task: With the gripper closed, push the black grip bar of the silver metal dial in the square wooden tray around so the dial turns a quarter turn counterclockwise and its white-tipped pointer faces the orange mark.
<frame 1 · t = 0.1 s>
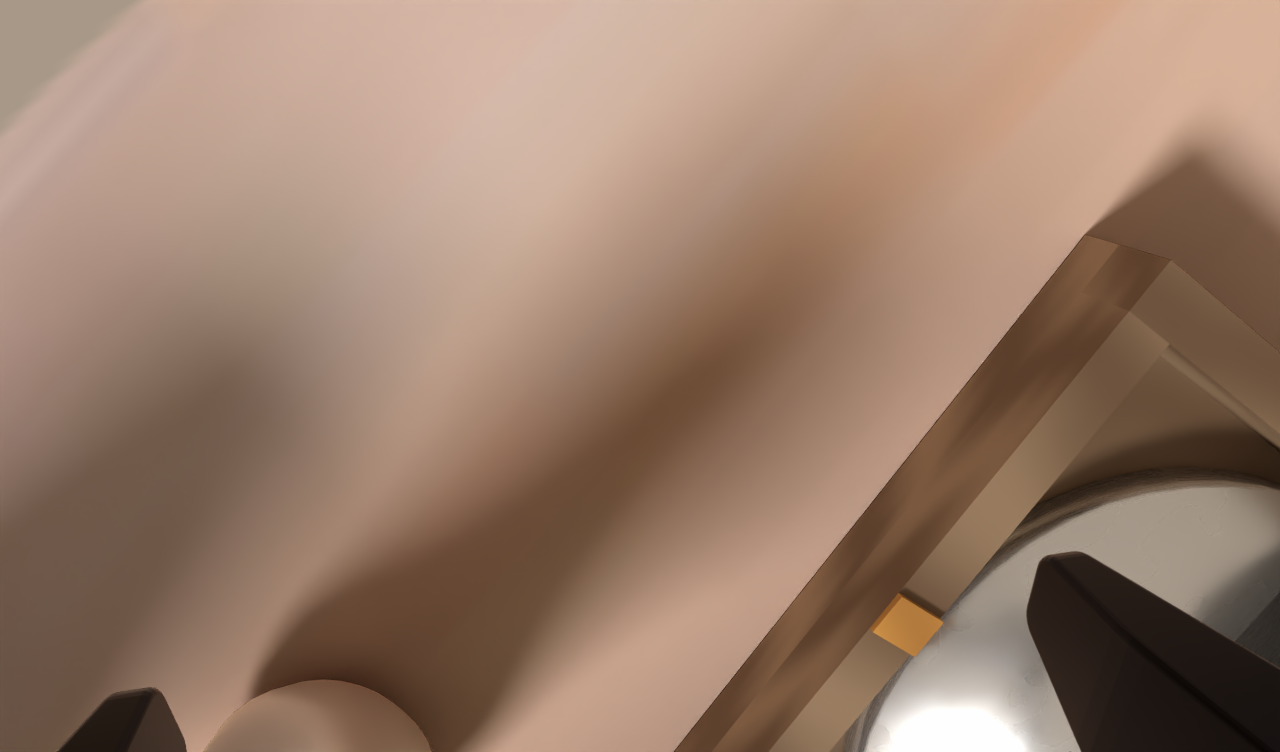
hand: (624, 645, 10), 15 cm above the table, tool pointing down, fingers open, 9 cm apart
square wooden tray: (1089, 701, 31), on the table
plastic bottle: (332, 742, 28), on the table
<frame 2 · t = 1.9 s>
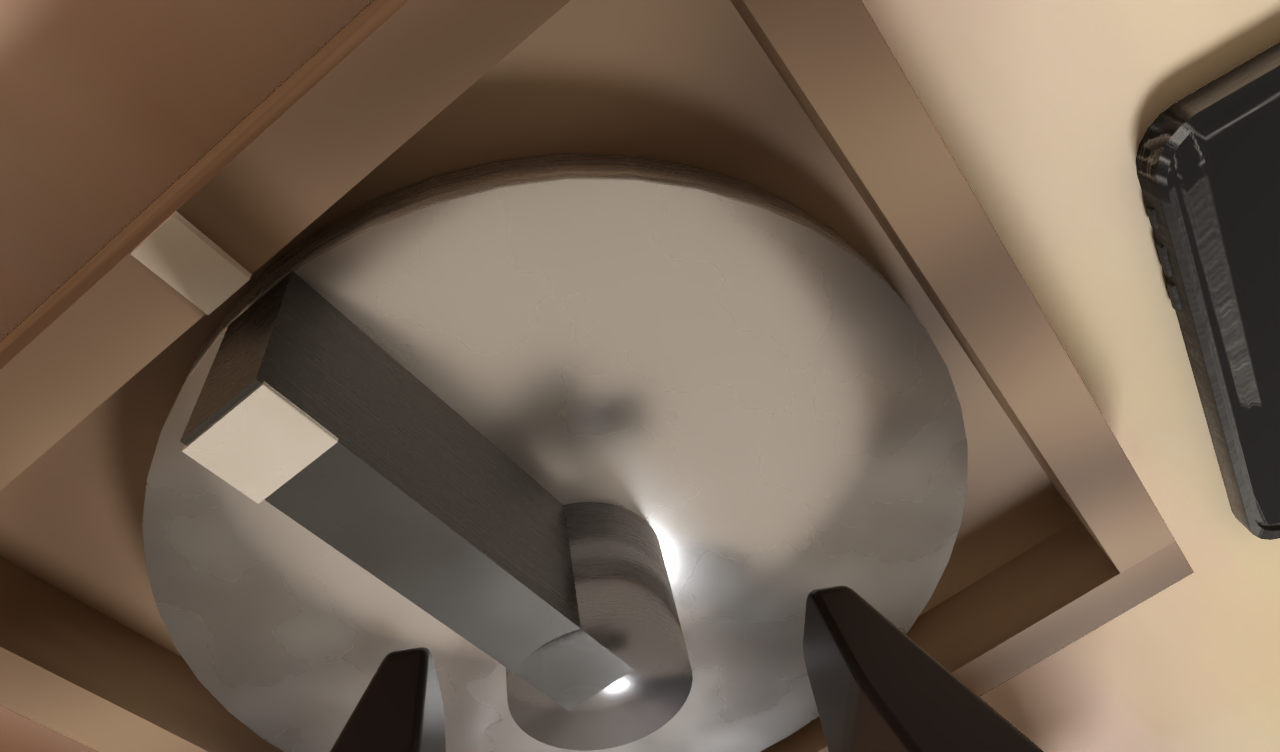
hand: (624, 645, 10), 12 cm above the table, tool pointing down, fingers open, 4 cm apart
square wooden tray: (569, 480, 24), on the table
dial: (587, 600, 20), point 4 cm above the table, hinge at 0.0°
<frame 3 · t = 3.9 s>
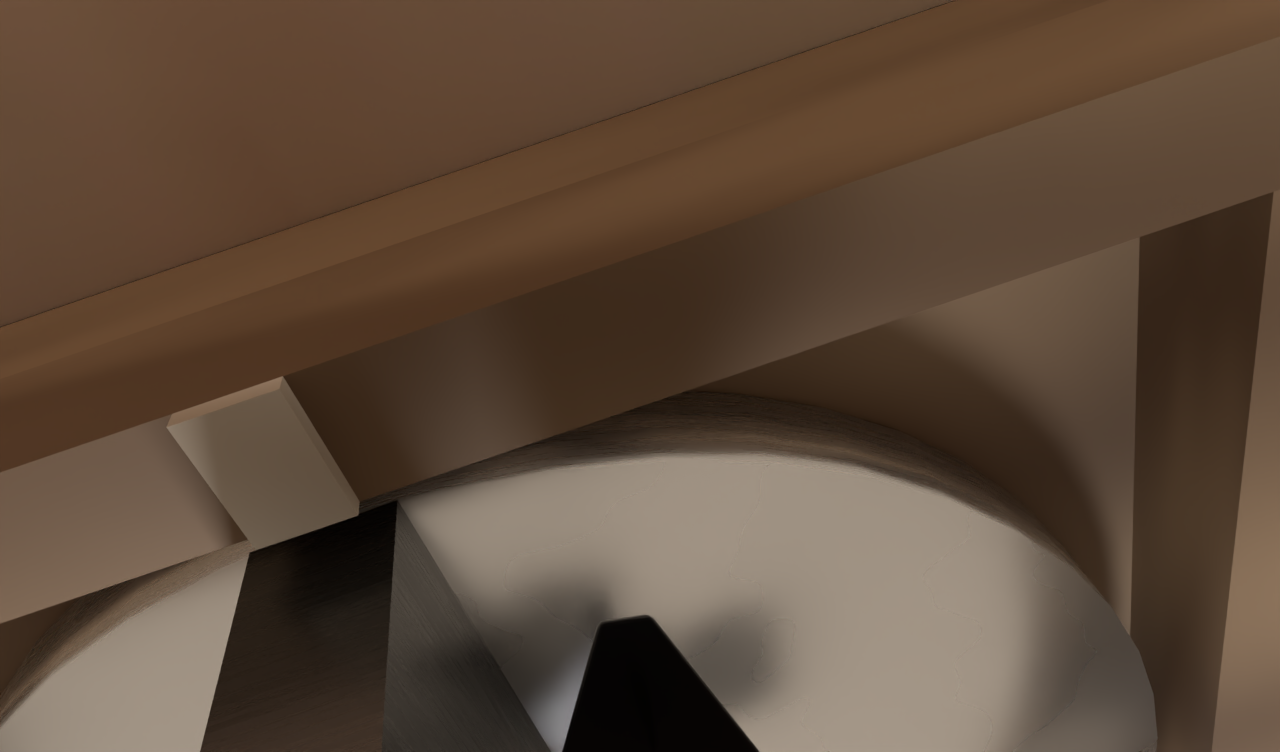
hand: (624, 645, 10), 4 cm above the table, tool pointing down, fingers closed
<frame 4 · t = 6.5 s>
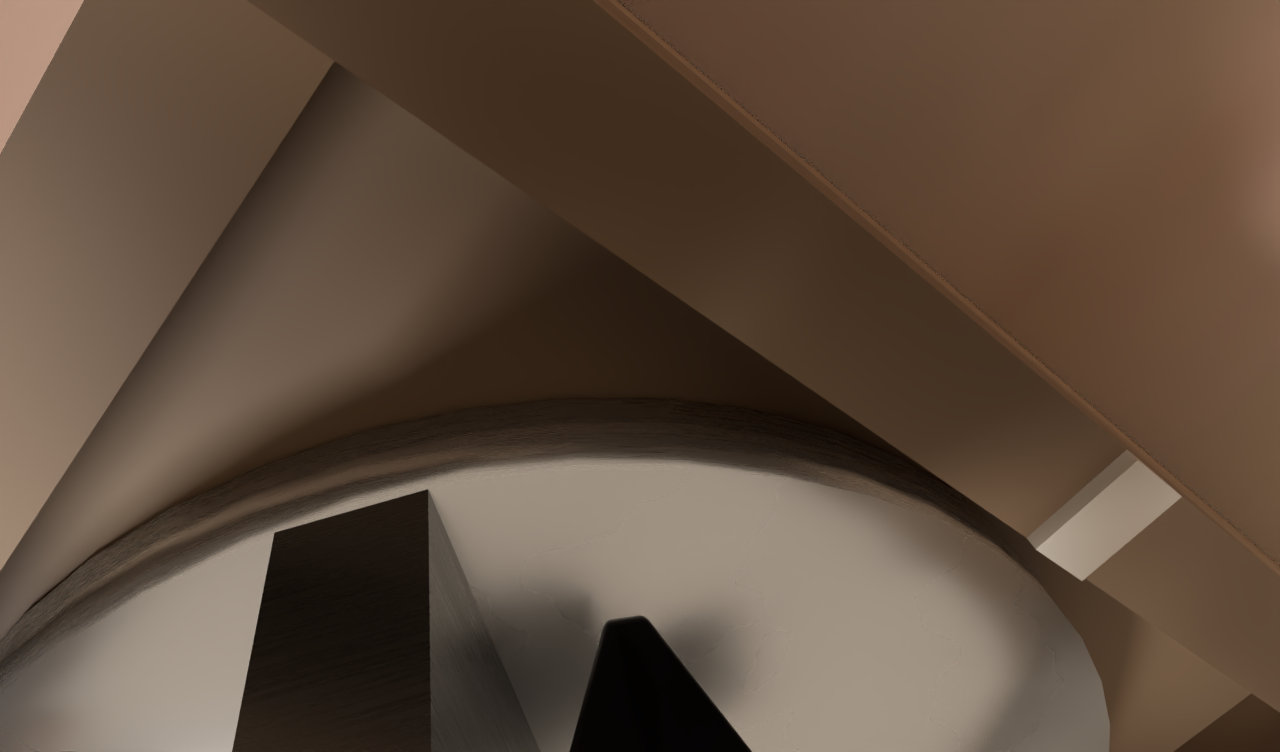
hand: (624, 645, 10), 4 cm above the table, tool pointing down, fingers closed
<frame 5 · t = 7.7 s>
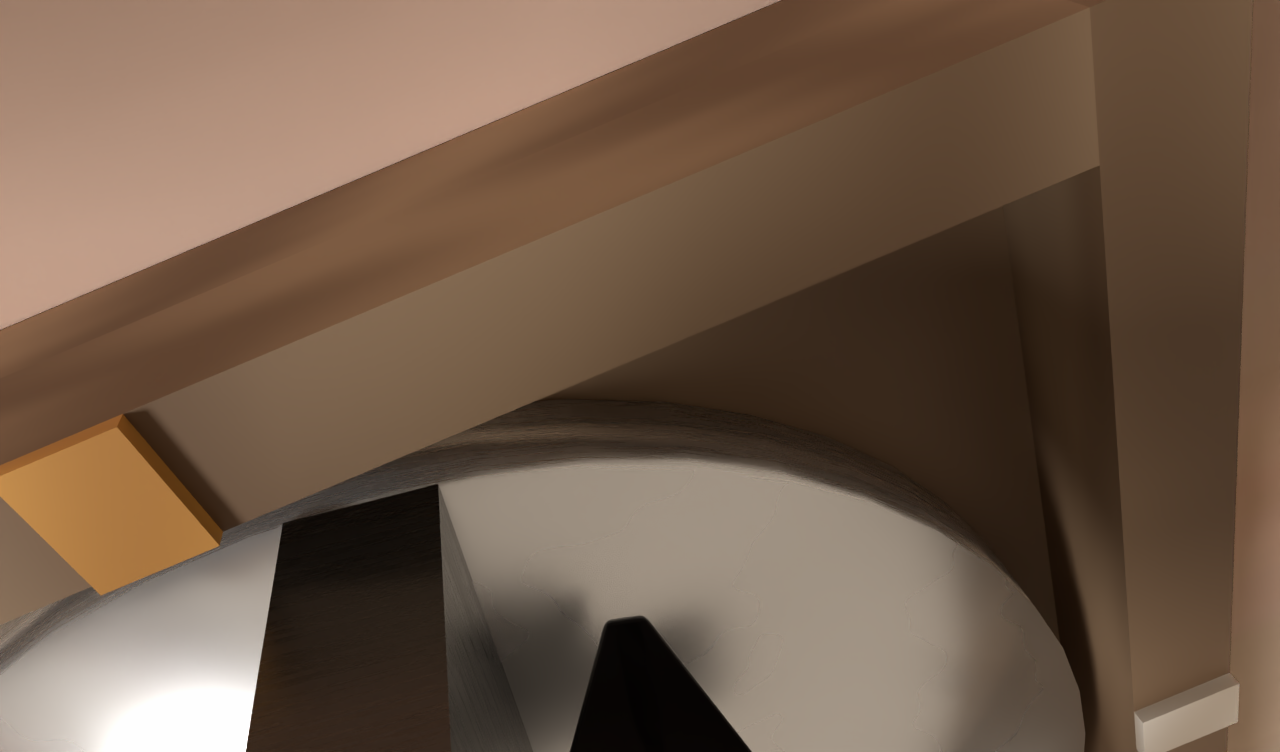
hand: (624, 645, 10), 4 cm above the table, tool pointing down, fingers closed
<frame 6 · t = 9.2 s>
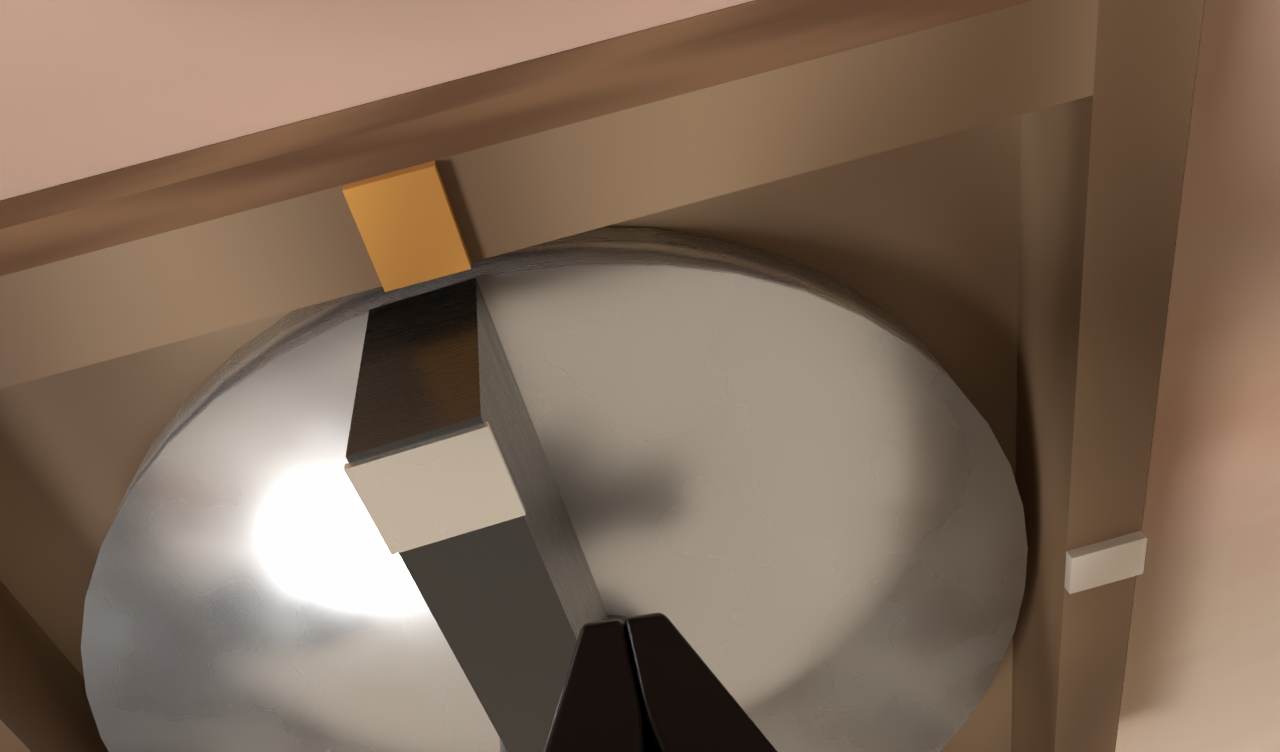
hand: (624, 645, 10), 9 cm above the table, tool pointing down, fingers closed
square wooden tray: (574, 572, 21), on the table
dial: (596, 726, 18), point 4 cm above the table, hinge at 91.7°
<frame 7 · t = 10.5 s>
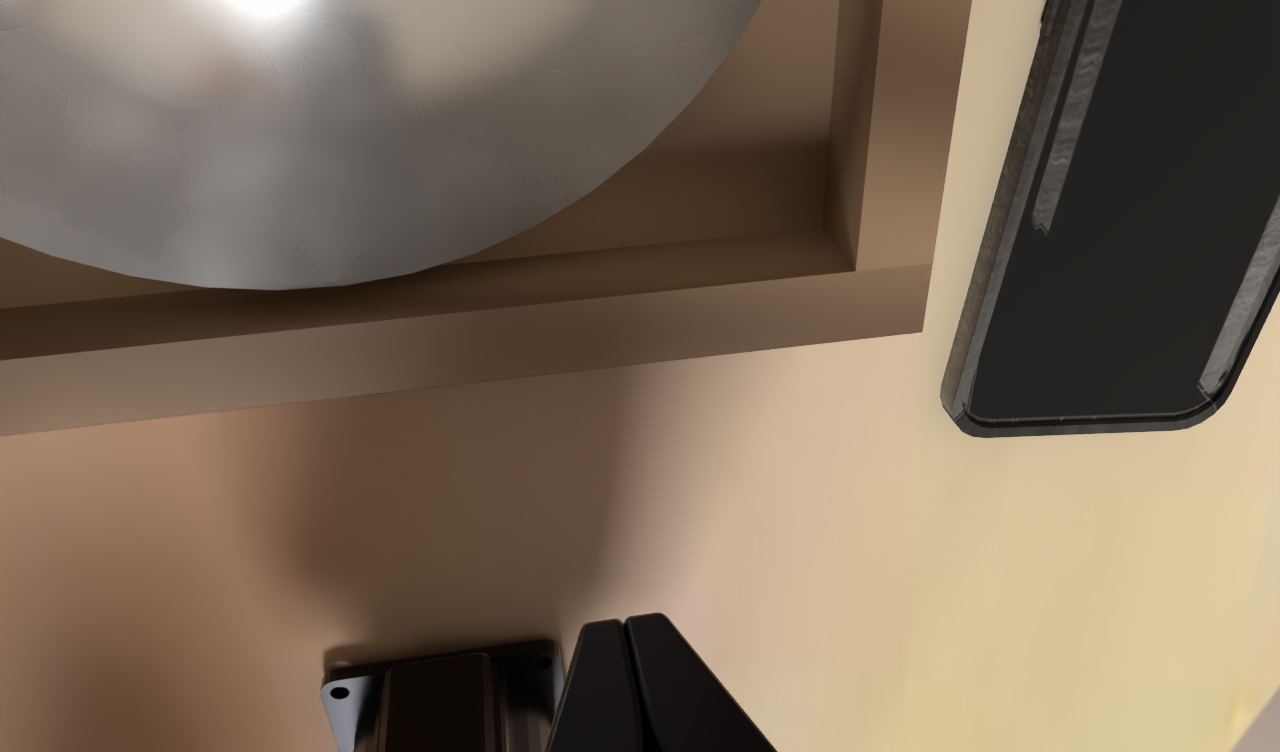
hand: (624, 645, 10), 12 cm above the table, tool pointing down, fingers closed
phone: (1152, 135, 22), on the table
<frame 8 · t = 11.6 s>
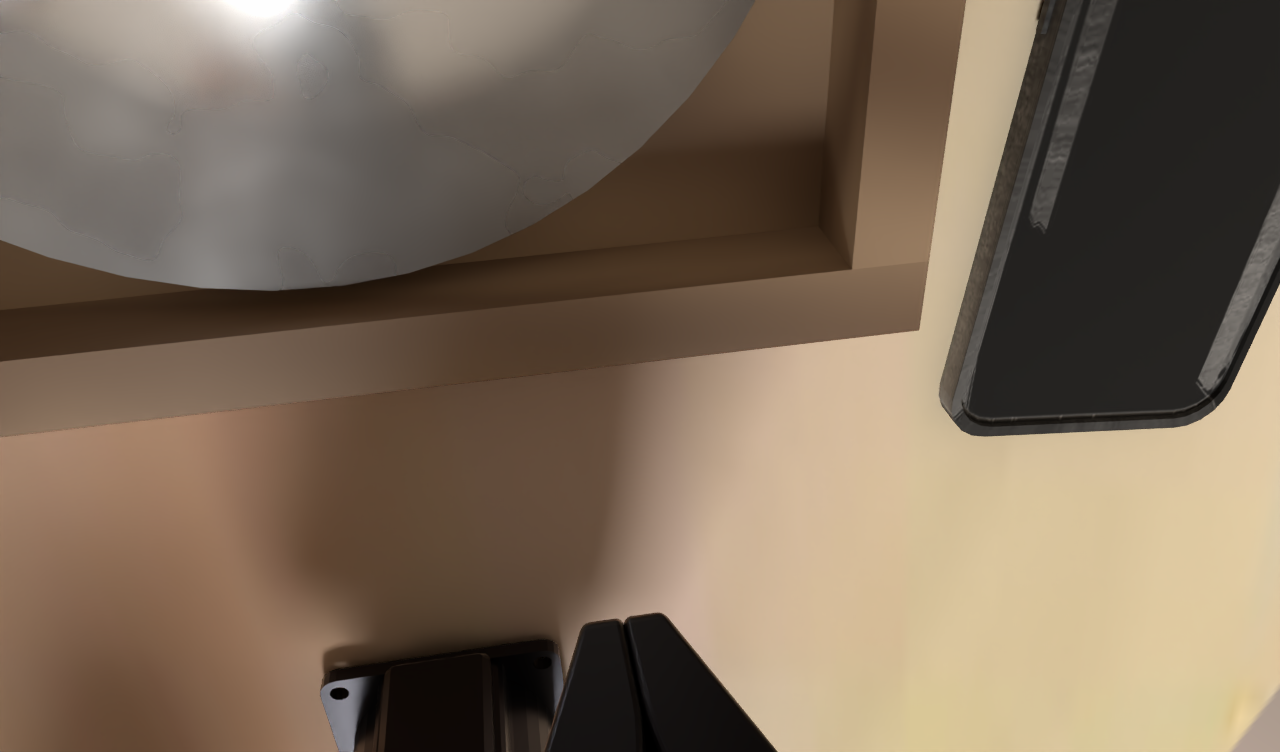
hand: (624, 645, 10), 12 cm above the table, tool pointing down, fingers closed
phone: (1149, 132, 22), on the table
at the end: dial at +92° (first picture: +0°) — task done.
